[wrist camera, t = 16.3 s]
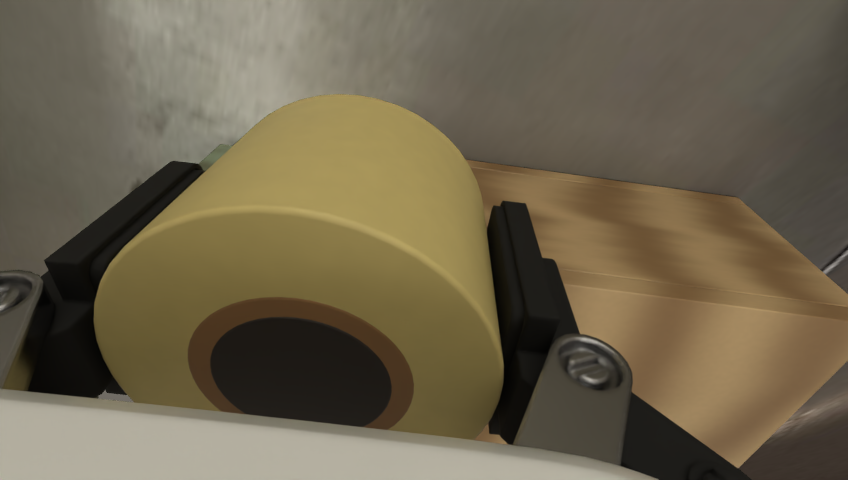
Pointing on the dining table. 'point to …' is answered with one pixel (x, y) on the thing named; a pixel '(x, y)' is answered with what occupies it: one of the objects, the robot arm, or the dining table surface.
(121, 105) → the dining table surface
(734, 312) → the cabinet
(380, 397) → the tape roll
